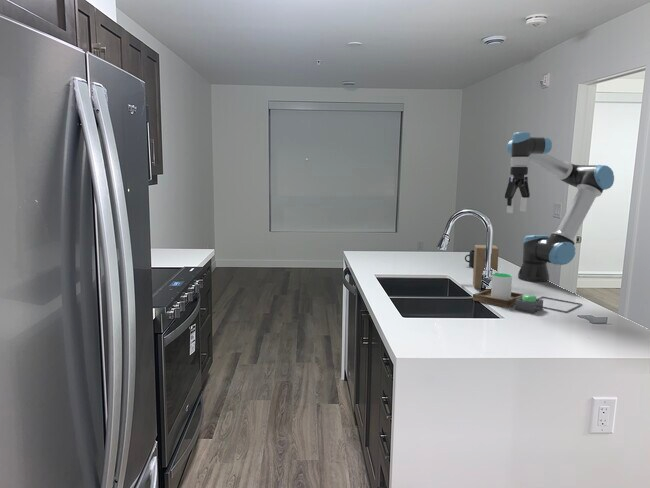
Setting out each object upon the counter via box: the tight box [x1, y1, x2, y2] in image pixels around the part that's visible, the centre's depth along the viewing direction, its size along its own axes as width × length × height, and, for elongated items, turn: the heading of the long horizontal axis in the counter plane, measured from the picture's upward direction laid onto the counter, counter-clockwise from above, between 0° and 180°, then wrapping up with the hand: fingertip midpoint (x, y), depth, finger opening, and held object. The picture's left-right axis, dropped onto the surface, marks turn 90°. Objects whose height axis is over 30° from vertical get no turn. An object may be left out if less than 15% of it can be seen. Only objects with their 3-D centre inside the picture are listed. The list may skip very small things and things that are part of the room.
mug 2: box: [491, 272, 513, 300], centre depth 214 cm, size 12×8×10 cm
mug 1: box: [464, 249, 475, 269], centre depth 289 cm, size 9×12×9 cm
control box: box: [514, 297, 544, 314], centre depth 201 cm, size 8×8×4 cm
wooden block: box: [472, 244, 500, 290], centre depth 237 cm, size 10×10×20 cm
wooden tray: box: [472, 288, 525, 308], centre depth 214 cm, size 16×16×3 cm
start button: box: [522, 294, 537, 303], centre depth 200 cm, size 5×5×4 cm
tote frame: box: [536, 296, 583, 313], centre depth 208 cm, size 17×17×1 cm
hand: (516, 212), depth 232 cm, fingers open, 13 cm apart
